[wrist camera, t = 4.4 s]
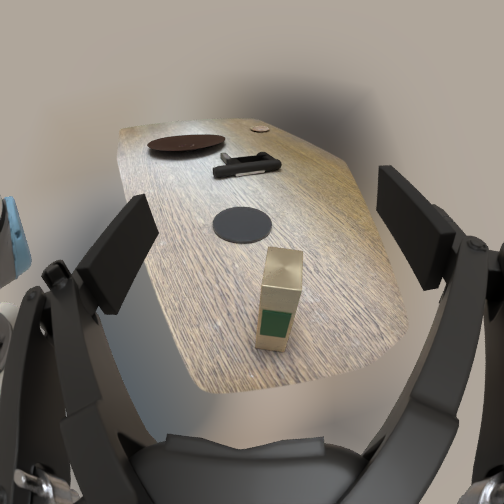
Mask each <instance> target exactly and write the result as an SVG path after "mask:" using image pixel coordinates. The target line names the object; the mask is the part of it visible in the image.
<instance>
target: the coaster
mask: <svg viewBox="0 0 504 504" xmlns="http://www.w3.org/2000/svg"><path fill="white" fill-rule="evenodd" d="M271 228H272V222H271V219H270V218H269V217H268V215H266V214H265V213H264V212H262V211H260V210H258V209H254V208H250V207H233V208H229V209H226V210H224V211H222V212H220V213H219V214H217V215H216V217H215V218H214V220H213V229H214V231H215V233H216V234H217V235H218V236H219V237H220V238H222V239H224V240H226V241H229V242H233V243H241V244H245V243H253V242H257V241H259V240H262V239H263V238H265V237H266V236H267V235H268V234H269V233H270V231H271Z"/></svg>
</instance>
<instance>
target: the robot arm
mask: <svg viewBox="0 0 504 504" xmlns="http://www.w3.org/2000/svg"><path fill="white" fill-rule="evenodd" d="M376 211H377V212H378V213H379V215H380V217H381V218H382V219H383V221H384V223H385V224H386V226H387V228H388V229H389V231H390V232H391V234H392V236H393V237H394V239H395V240H396V242H397V244H398V245H399V247H400V249H401V251H402V252H403V254H404V256H405V257H406V259H407V261H408V263H409V264H410V266H411V268H412V270H413V272H414V274H415V275H416V277H417V279H418V281H419V283H420V285H421V287H422V289H423V290H424V291H426V290H431V289H436V288H438V287H439V285H440V282H441V279H442V277H443V279H444V280H445V282H446V286H445V289H444V291H443V294H442V296H441V298H440V301H439V303H440V304H439V307H438V310H437V313H436V316H435V319H434V321H433V324H432V327H431V329H430V332H429V334H428V337H427V339H426V342H425V344H424V347H423V349H422V351H421V354H420V356H419V358H418V360H417V363H416V365H415V367H414V369H413V371H412V374H411V376H410V377H409V379H408V381H407V384H406V385H405V387H404V390H403V392H402V393H401V395H400V397H399V399H398V400H397V402H396V404H395V406H394V407H393V409H392V411H391V413H390V414H389V416H388V418H387V419H386V421H385V423H384V425H383V426H382V428H381V429H380V430H379V432H378V433H377V434H376V436H375V437H374V438H373V440H372V441H371V442H370V444H369V445H368V447H367V448H366V449H365V451H364V452H363V454H362V455H359V454H358V453H356V452H354V451H352V450H350V449H347V448H344V447H341V446H337V445H333V444H326V443H324V437H316V438H305V439H292V440H281V441H277V442H273V443H269V444H266V445H262V446H257V447H252V448H248V449H235V448H232V447H228V446H225V445H222V444H219V443H215V442H212V441H209V440H206V439H203V438H198V437H189V436H181V435H173V434H167V437H166V441H164V442H159V443H157V442H156V440H155V439H154V438H153V437H152V436H151V435H150V434H149V433H148V431H147V430H146V428H145V426H144V424H143V423H142V421H141V419H140V417H139V415H138V413H137V411H136V409H135V407H134V404H133V402H132V400H131V398H130V396H129V394H128V392H127V389H126V387H125V385H124V382H123V380H122V378H121V375H120V373H119V370H118V368H117V365H116V363H115V360H114V358H113V355H112V352H111V350H110V347H109V344H108V342H107V339H106V336H105V333H104V330H103V327H102V324H101V321H100V318H99V316H98V314H97V313H96V310H97V308H98V306H99V307H100V308H101V310H102V311H103V312H104V314H107V315H112V314H113V315H117V314H118V312H119V310H120V308H121V305H122V303H123V301H124V299H125V297H126V295H127V293H128V291H129V289H130V287H131V285H132V283H133V281H134V279H135V277H136V275H137V273H138V271H139V269H140V267H141V265H142V263H143V261H144V260H145V258H146V256H147V254H148V252H149V250H150V248H151V247H152V245H153V243H154V241H155V239H156V238H157V236H158V234H159V232H158V229H157V227H156V224H155V221H154V219H153V216H152V213H151V210H150V208H149V205H148V202H147V199H146V196H145V194H141V195H136V196H133V197H132V199H131V200H130V201H129V202H128V203H127V204H126V205H125V207H124V208H123V209H122V210H121V211H120V212H119V214H118V215H117V216H116V217H115V218H114V220H113V221H112V222H111V223H110V224H109V226H108V227H107V228H106V229H105V231H104V232H103V233H102V234H101V236H100V237H99V238H98V240H97V241H96V242H95V243H94V245H93V246H92V247H91V248H90V249H89V251H88V252H87V253H86V255H85V256H84V257H83V259H82V260H81V262H80V263H79V264H78V266H77V267H76V269H75V270H74V271H73V273H72V274H71V273H70V272H69V270H68V268H67V267H66V265H65V263H64V261H63V260H57V261H55V262H53V263H51V264H50V265H49V266H48V267H47V268H46V269H45V270H44V271H43V273H42V276H41V277H42V278H43V280H44V281H45V283H46V284H47V286H48V287H49V289H50V290H51V291H49V292H46V293H44V292H43V290H42V289H41V287H40V286H35V287H33V288H30V289H29V290H28V291H27V292H26V294H25V296H24V297H23V300H22V302H21V306H20V309H19V312H18V315H17V318H16V322H15V325H14V329H13V328H12V326H11V324H10V322H9V321H8V320H7V318H6V317H5V316H4V315H3V314H2V313H0V373H1V372H2V371H3V370H4V373H3V379H2V386H1V393H0V504H419V502H420V500H421V499H422V497H423V496H424V494H425V493H426V491H427V489H428V488H429V486H430V484H431V483H432V481H433V479H434V477H435V476H436V474H437V472H438V470H439V468H440V467H441V465H442V463H443V461H444V459H445V457H446V455H447V453H448V450H449V448H450V446H451V444H452V442H453V440H454V438H455V435H456V433H457V430H458V427H459V420H458V419H457V417H456V414H457V411H458V408H459V405H460V402H461V400H462V396H463V394H464V391H465V388H466V384H467V381H468V378H469V375H470V371H471V367H472V364H473V361H474V357H475V353H476V348H477V344H478V340H479V335H480V329H481V324H482V318H483V316H484V328H485V354H486V370H485V392H484V404H483V414H482V422H481V428H480V434H479V440H478V445H477V450H476V456H475V462H474V466H473V475H472V484H471V486H470V487H469V489H468V490H467V491H466V493H465V494H464V495H462V497H461V498H460V499H459V501H458V503H457V504H504V243H503V244H502V246H501V249H500V251H499V252H498V251H492V250H489V249H488V246H487V245H486V243H484V242H483V241H482V240H481V239H479V238H477V237H474V236H466V235H465V233H464V232H463V231H462V230H461V229H460V228H459V226H458V225H457V224H456V223H455V222H453V220H452V219H451V218H450V217H449V215H448V214H447V213H446V212H445V211H444V210H443V209H441V208H440V207H438V206H436V205H435V204H433V205H432V204H431V203H430V202H429V201H428V200H427V199H426V198H425V197H424V196H423V195H422V194H421V193H420V192H419V191H418V190H417V189H416V188H415V187H414V186H413V185H412V184H410V182H409V181H408V180H406V179H405V178H404V177H403V176H402V175H401V174H400V173H399V172H398V171H397V170H395V168H393V167H392V166H391V165H390V166H379V174H378V194H377V207H376ZM31 262H32V259H31V254H30V251H29V247H28V244H27V240H26V237H25V234H24V231H23V227H22V224H21V220H20V217H19V213H18V210H17V206H16V203H15V200H14V198H13V197H12V196H9V197H5V198H4V199H3V200H2V198H1V196H0V288H2V287H4V286H5V285H7V284H8V283H10V282H11V281H13V280H15V279H17V278H18V276H19V275H21V274H22V273H23V272H25V271H26V270H28V268H29V267H30V266H31ZM40 326H41V328H42V329H43V330H44V331H45V335H43V334H42V332H41V330H40ZM65 408H66V412H67V417H66V414H65ZM70 464H71V467H72V469H73V472H74V475H75V477H76V480H77V482H78V485H79V487H80V490H81V492H82V494H83V497H81V498H80V497H79V494H78V493H77V492H76V491H75V490H73V489H70V482H71V477H70Z"/></svg>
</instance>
